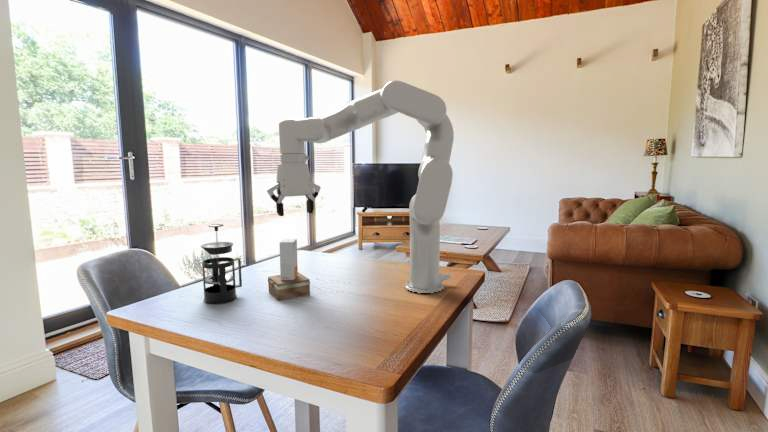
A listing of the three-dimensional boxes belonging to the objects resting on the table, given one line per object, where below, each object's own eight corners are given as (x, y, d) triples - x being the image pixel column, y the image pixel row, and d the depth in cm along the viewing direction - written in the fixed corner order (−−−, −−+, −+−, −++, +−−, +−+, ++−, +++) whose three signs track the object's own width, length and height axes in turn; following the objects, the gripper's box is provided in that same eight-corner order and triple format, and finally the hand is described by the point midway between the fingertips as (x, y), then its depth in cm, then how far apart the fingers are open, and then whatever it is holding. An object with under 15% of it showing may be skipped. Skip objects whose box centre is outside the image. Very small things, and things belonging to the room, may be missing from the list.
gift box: (298, 286, 141) (298, 272, 141) (310, 294, 133) (309, 279, 132) (266, 292, 136) (265, 276, 135) (276, 301, 127) (275, 284, 127)
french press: (205, 306, 123) (200, 228, 120) (198, 298, 130) (193, 224, 127) (246, 299, 129) (242, 224, 126) (237, 291, 137) (233, 220, 134)
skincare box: (294, 280, 131) (292, 242, 129) (280, 280, 131) (278, 242, 129) (298, 275, 137) (297, 238, 135) (285, 275, 137) (283, 238, 135)
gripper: (313, 159, 140) (316, 211, 142) (261, 160, 131) (265, 215, 133) (323, 159, 134) (325, 213, 136) (269, 160, 125) (272, 218, 127)
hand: (295, 214), depth 135 cm, fingers open, 9 cm apart
